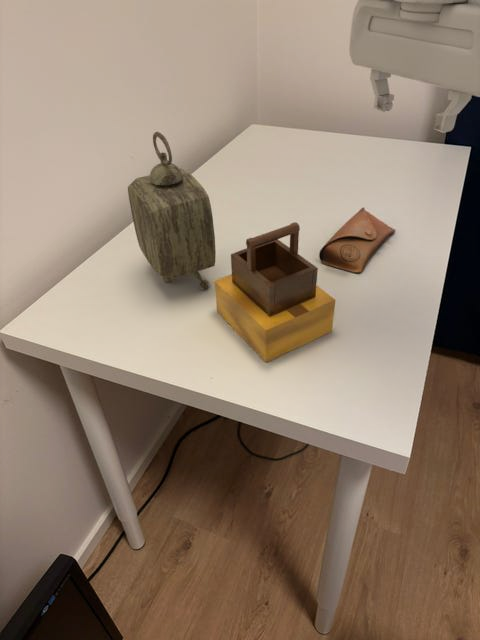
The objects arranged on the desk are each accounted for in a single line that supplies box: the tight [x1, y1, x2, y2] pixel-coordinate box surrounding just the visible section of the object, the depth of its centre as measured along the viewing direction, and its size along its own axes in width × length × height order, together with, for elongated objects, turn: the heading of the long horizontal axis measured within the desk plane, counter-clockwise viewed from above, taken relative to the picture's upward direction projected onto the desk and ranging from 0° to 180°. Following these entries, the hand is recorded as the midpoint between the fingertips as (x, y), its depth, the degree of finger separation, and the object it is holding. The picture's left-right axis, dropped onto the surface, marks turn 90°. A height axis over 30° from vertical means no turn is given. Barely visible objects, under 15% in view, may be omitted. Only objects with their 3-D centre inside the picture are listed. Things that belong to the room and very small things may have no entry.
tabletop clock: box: [127, 131, 216, 290], centre depth 77 cm, size 14×9×25 cm, turn 27°
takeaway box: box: [214, 273, 336, 363], centre depth 73 cm, size 14×12×6 cm
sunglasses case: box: [318, 207, 396, 274], centre depth 90 cm, size 18×7×7 cm, turn 147°
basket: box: [230, 221, 319, 317], centre depth 68 cm, size 10×8×10 cm
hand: (411, 119), depth 58 cm, fingers open, 8 cm apart
